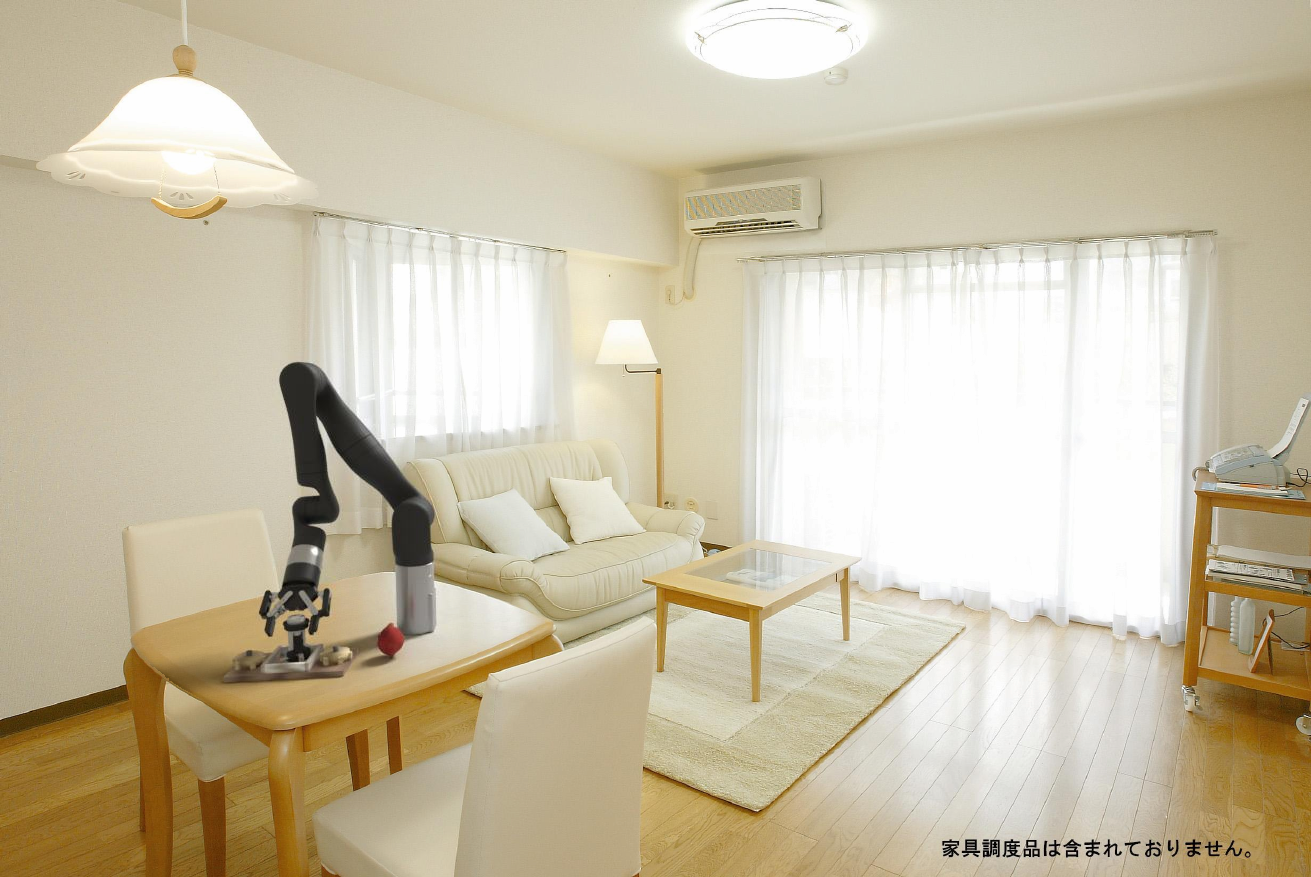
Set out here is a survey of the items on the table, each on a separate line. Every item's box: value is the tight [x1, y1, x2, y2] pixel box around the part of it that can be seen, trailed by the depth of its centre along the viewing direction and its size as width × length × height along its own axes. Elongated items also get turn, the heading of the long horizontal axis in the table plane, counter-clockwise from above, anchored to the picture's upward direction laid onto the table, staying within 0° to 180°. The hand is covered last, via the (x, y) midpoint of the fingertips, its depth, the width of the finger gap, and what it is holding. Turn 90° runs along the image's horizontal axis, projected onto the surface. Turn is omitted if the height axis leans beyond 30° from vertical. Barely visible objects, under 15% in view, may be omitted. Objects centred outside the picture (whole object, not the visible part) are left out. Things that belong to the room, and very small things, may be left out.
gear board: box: [222, 643, 358, 684], centre depth 169 cm, size 25×13×4 cm, turn 99°
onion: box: [376, 621, 405, 658], centre depth 175 cm, size 6×6×8 cm
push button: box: [280, 613, 311, 663], centre depth 169 cm, size 7×5×10 cm
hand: (290, 634), depth 167 cm, fingers open, 8 cm apart
